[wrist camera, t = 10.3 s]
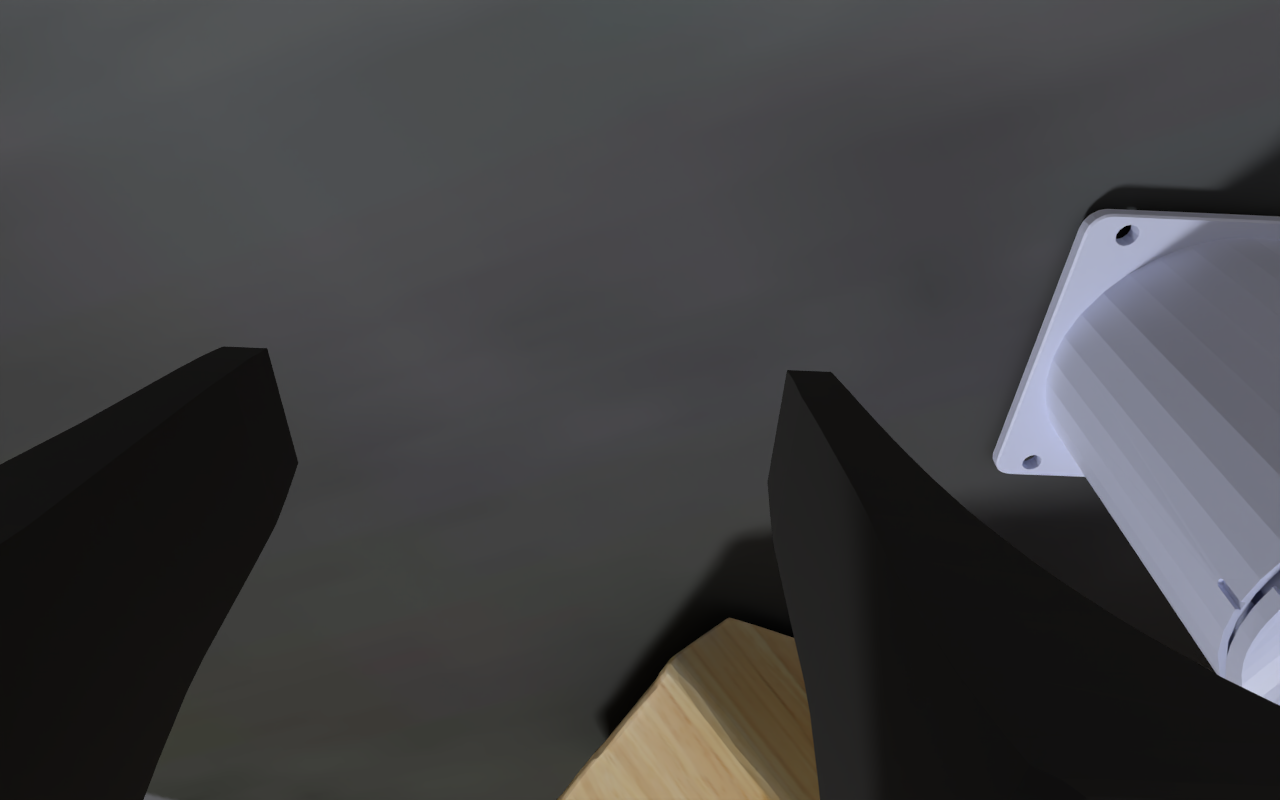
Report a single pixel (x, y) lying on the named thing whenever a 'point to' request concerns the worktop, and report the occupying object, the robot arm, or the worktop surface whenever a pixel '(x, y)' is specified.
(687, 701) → the knife block
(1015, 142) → the worktop surface
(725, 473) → the worktop surface
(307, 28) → the worktop surface
